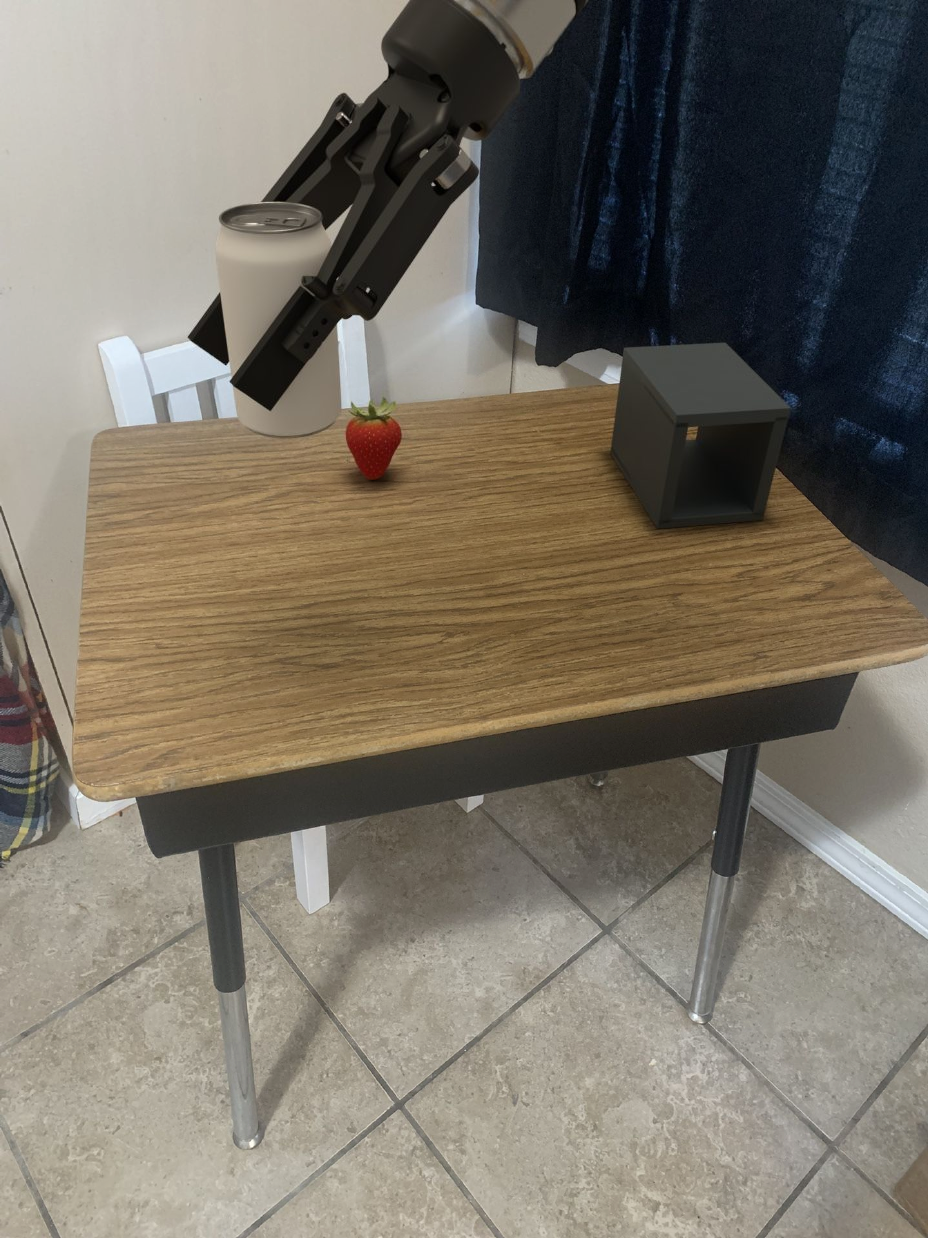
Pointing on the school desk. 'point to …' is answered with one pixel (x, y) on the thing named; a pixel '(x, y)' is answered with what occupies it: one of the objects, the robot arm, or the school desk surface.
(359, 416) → the fruit
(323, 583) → the school desk surface
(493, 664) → the school desk surface
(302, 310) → the robot arm
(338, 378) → the can
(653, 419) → the shelf
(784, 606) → the school desk surface
